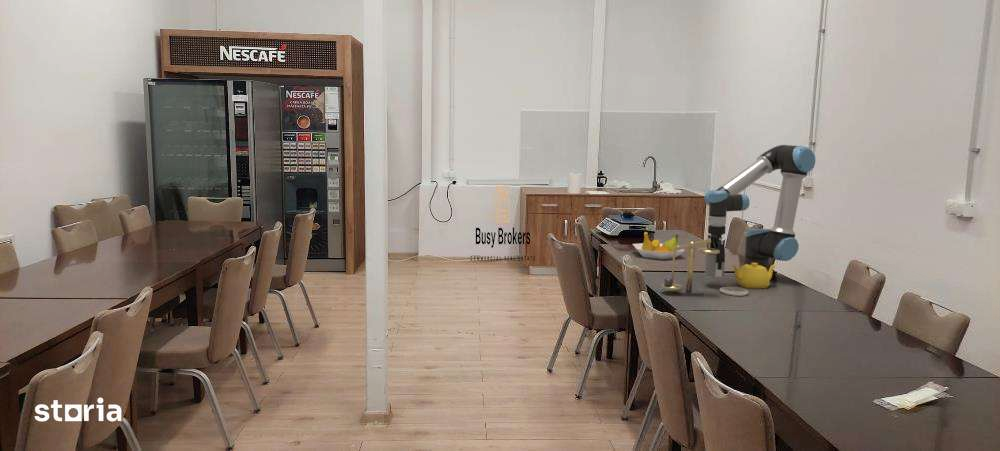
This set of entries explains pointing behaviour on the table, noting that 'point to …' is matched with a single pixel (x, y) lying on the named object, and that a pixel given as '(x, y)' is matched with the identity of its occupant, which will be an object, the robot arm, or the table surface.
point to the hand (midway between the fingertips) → (714, 274)
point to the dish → (733, 291)
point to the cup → (712, 265)
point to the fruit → (658, 248)
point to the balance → (688, 269)
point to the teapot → (753, 276)
